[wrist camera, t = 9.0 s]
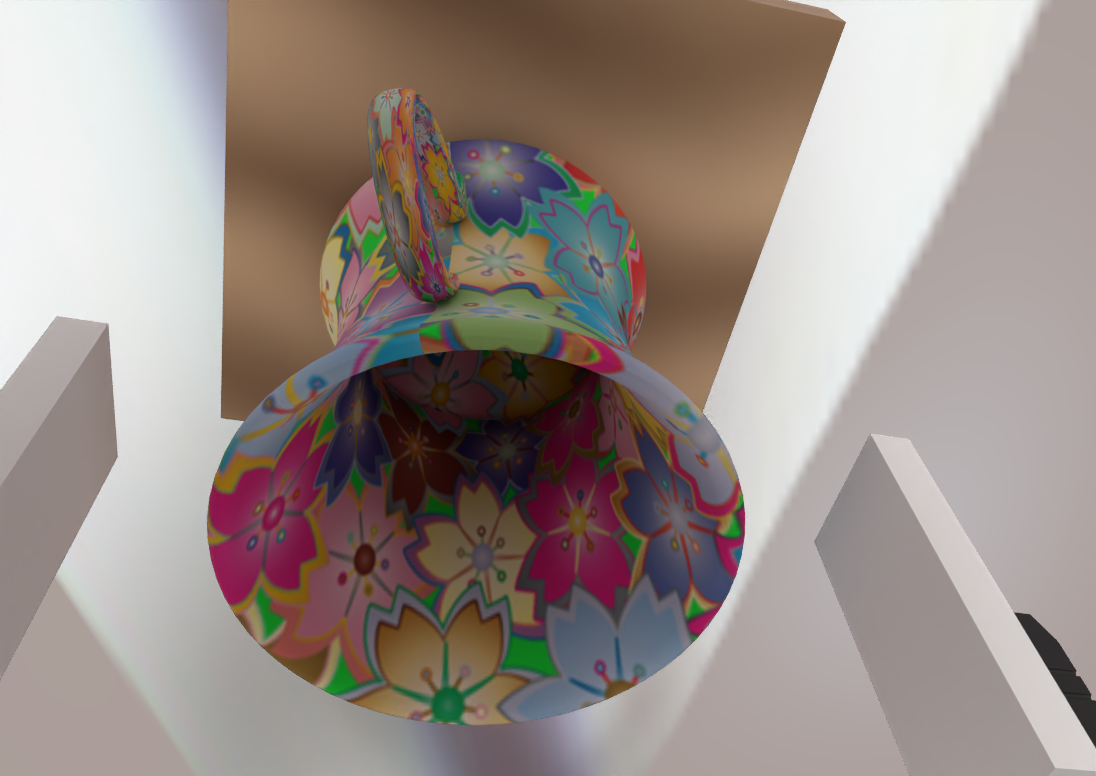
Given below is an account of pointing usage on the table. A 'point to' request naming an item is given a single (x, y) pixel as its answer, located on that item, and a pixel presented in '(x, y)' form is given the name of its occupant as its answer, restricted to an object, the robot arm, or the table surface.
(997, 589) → the robot arm
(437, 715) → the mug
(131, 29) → the table surface
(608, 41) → the stool
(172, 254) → the table surface
